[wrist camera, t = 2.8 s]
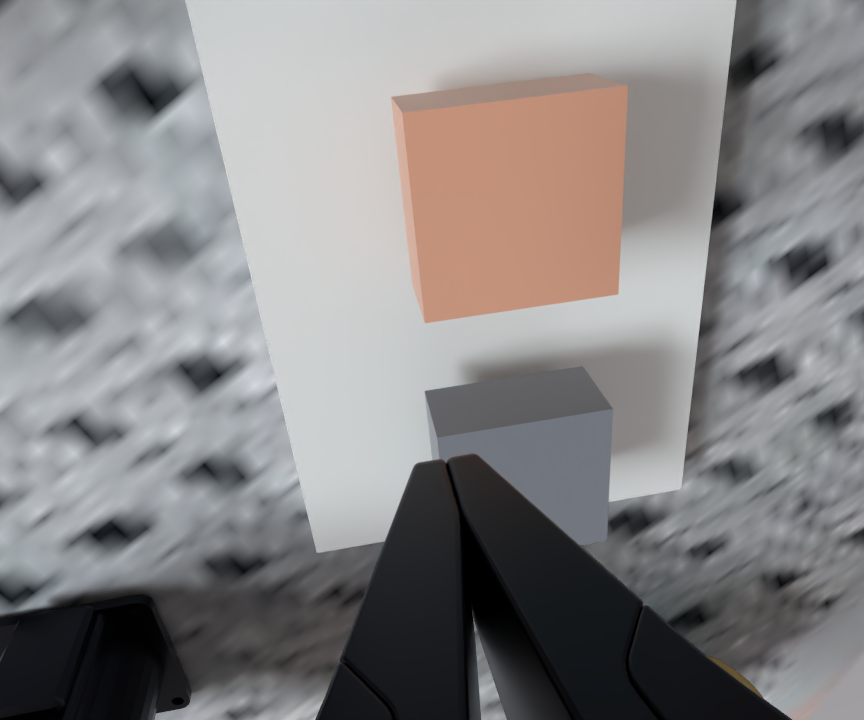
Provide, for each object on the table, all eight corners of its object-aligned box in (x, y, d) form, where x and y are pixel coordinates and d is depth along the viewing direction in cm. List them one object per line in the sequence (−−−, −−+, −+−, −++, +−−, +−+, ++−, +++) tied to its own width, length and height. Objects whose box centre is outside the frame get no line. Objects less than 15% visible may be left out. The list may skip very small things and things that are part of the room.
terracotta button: (584, 260, 20) (618, 294, 17) (412, 285, 19) (424, 323, 17) (588, 73, 17) (628, 85, 15) (391, 96, 17) (402, 112, 14)
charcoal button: (580, 490, 24) (606, 540, 21) (438, 514, 23) (451, 568, 21) (582, 365, 21) (613, 408, 19) (424, 390, 21) (437, 437, 19)
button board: (663, 465, 27) (681, 489, 26) (316, 525, 26) (316, 553, 25) (754, -485, 15) (796, -531, 13) (90, -454, 14) (66, -500, 12)
